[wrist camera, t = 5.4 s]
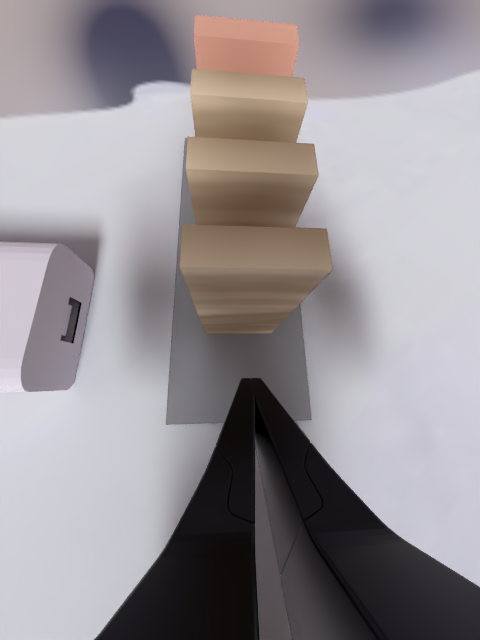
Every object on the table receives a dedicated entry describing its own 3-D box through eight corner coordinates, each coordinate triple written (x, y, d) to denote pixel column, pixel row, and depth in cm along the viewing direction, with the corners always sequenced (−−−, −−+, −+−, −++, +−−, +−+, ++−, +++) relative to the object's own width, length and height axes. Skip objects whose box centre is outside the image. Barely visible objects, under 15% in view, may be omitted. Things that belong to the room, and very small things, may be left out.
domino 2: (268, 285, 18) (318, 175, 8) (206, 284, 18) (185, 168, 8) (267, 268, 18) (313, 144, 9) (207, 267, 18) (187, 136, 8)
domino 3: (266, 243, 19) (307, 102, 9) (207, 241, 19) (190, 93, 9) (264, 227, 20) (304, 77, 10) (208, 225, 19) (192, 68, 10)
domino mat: (308, 418, 16) (311, 419, 15) (168, 422, 15) (165, 424, 15) (282, 149, 23) (284, 143, 22) (186, 144, 22) (184, 138, 22)
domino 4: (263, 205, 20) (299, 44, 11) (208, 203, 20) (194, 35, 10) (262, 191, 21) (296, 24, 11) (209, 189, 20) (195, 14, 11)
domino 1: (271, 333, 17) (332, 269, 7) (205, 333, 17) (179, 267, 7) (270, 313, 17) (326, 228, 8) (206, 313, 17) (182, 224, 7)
